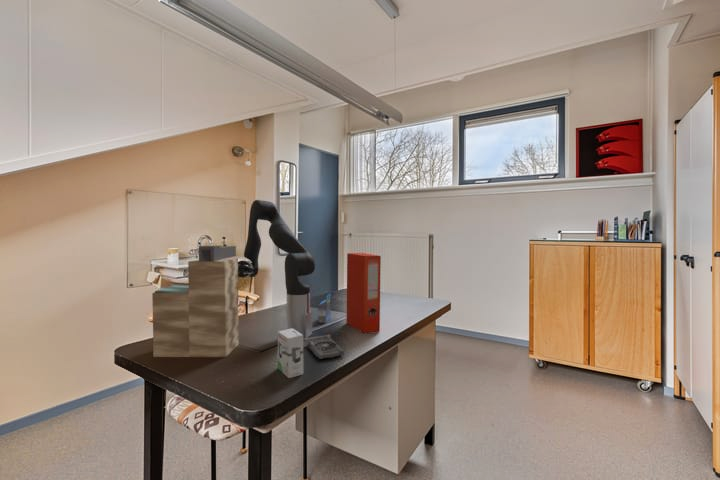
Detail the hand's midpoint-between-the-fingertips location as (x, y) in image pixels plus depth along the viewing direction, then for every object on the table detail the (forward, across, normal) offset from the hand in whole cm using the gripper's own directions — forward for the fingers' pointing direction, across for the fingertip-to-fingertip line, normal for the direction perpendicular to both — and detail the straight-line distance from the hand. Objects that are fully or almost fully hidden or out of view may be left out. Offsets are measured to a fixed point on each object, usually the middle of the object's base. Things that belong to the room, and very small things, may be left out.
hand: (238, 269), depth 134 cm
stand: (+14, -8, +30) cm, 33 cm away
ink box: (+38, +24, +28) cm, 53 cm away
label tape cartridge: (-15, +40, +20) cm, 47 cm away
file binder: (-1, +55, +19) cm, 58 cm away
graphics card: (+24, +35, +26) cm, 49 cm away
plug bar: (+14, -5, -3) cm, 15 cm away
